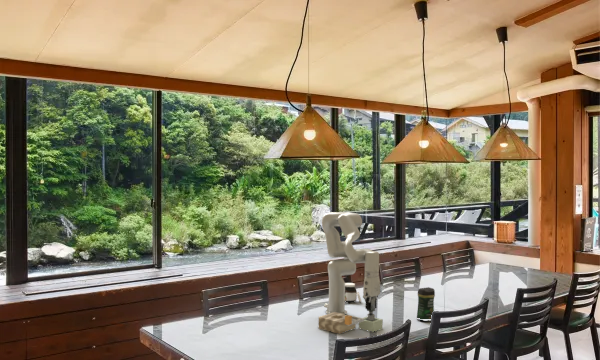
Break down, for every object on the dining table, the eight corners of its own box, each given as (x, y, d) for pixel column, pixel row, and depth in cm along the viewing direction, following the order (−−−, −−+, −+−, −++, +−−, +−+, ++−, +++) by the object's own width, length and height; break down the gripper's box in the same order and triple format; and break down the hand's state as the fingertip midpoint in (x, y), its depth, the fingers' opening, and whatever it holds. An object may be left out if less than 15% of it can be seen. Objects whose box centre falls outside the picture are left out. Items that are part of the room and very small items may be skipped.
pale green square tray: (358, 328, 259) (359, 319, 259) (368, 325, 266) (368, 316, 266) (373, 332, 253) (373, 322, 253) (382, 328, 260) (382, 319, 260)
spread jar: (340, 300, 322) (341, 282, 322) (356, 299, 326) (356, 281, 326) (348, 304, 311) (349, 286, 311) (364, 303, 315) (364, 285, 315)
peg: (364, 325, 259) (365, 295, 259) (369, 324, 262) (370, 294, 263) (371, 327, 256) (372, 297, 256) (376, 325, 259) (376, 295, 260)
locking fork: (332, 322, 247) (332, 313, 247) (349, 317, 257) (349, 308, 257) (348, 326, 240) (348, 317, 240) (364, 321, 251) (364, 311, 251)
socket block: (318, 328, 258) (318, 316, 258) (334, 322, 269) (334, 312, 269) (339, 334, 249) (339, 322, 249) (355, 328, 259) (355, 317, 259)
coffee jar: (424, 323, 272) (425, 289, 272) (414, 319, 278) (415, 287, 279) (436, 320, 277) (437, 288, 277) (426, 317, 283) (427, 285, 284)
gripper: (368, 277, 251) (367, 312, 251) (386, 273, 263) (385, 307, 263) (356, 275, 256) (356, 310, 256) (374, 271, 268) (373, 304, 268)
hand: (371, 308), depth 259 cm, fingers closed on peg, 4 cm apart
